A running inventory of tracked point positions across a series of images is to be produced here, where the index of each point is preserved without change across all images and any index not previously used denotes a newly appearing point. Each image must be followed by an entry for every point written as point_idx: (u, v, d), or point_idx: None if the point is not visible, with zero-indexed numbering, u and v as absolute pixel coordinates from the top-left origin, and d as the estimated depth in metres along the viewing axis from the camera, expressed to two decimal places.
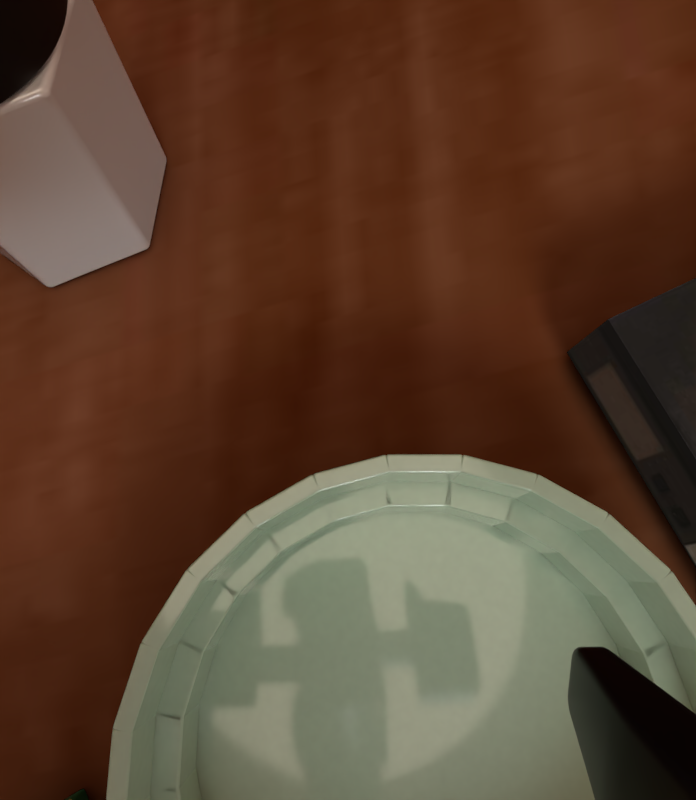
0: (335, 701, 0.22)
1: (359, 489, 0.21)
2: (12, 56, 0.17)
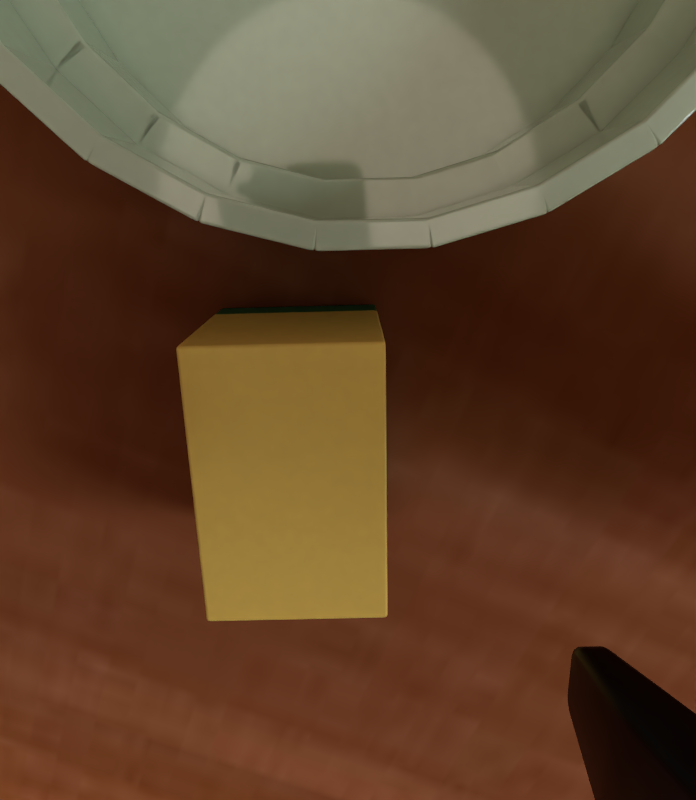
0: None
1: None
2: None
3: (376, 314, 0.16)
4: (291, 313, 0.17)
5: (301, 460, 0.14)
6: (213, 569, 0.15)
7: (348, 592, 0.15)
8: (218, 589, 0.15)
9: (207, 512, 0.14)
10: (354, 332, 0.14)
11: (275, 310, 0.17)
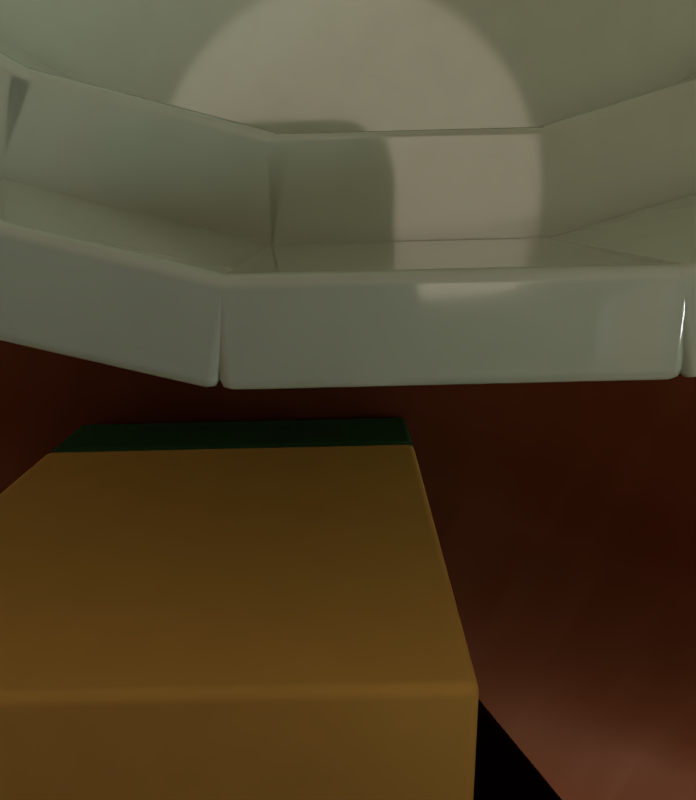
0: None
1: None
2: None
3: (415, 465, 0.07)
4: (219, 454, 0.07)
5: None
6: None
7: None
8: None
9: None
10: (368, 588, 0.05)
11: (188, 438, 0.08)
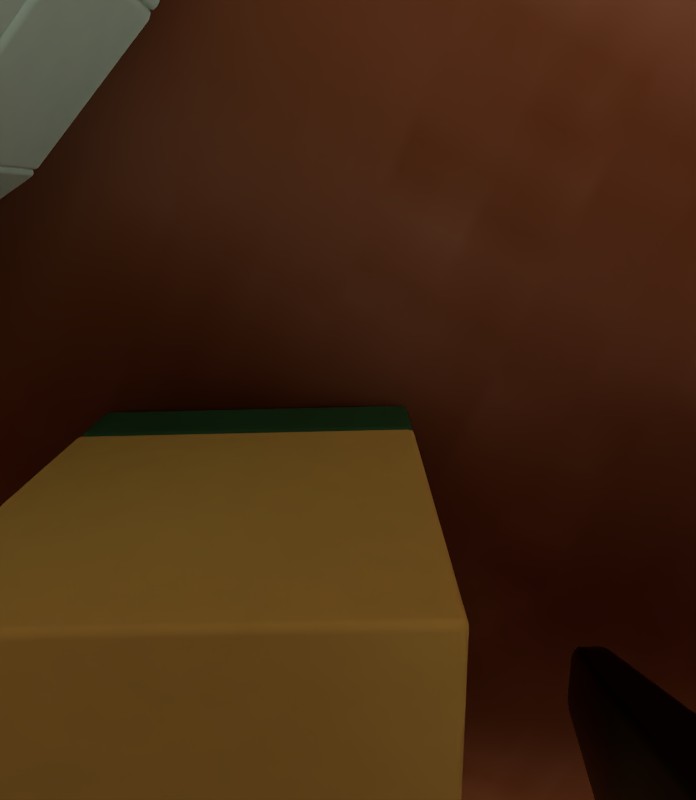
0: None
1: None
2: None
3: (415, 446, 0.08)
4: (235, 437, 0.08)
5: None
6: None
7: None
8: None
9: None
10: (373, 547, 0.05)
11: (206, 424, 0.09)
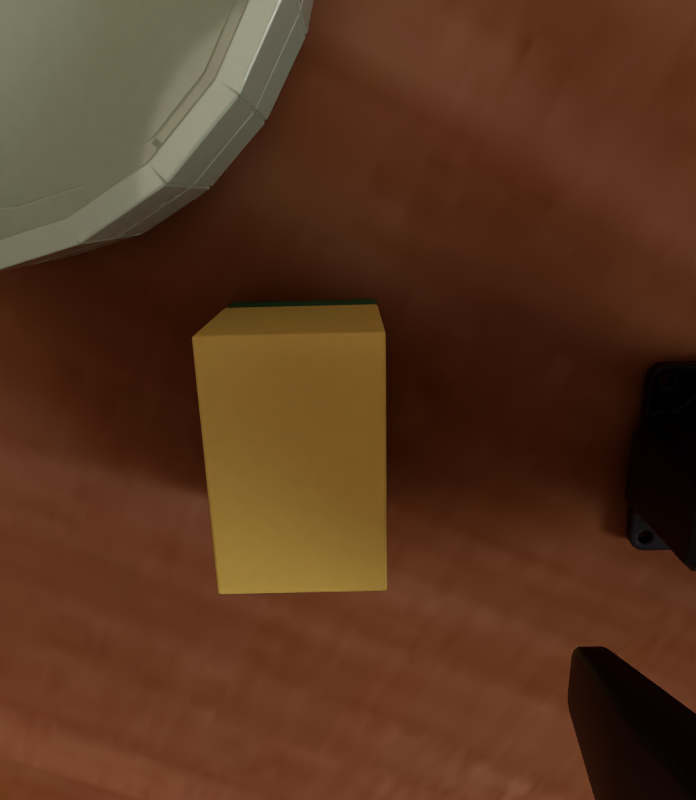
0: None
1: None
2: None
3: (377, 308, 0.17)
4: (297, 307, 0.18)
5: (307, 442, 0.15)
6: (224, 545, 0.16)
7: (350, 566, 0.16)
8: (229, 563, 0.16)
9: (219, 491, 0.15)
10: (356, 323, 0.15)
11: (281, 304, 0.18)
